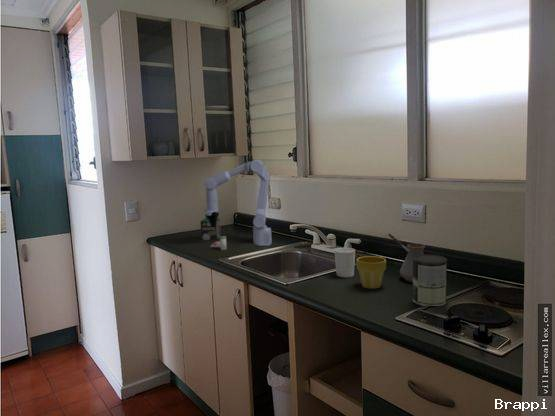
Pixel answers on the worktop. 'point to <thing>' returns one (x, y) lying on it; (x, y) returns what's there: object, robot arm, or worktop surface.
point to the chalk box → (210, 230)
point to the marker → (223, 242)
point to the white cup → (345, 262)
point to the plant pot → (371, 270)
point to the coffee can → (429, 280)
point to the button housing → (215, 245)
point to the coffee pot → (409, 258)
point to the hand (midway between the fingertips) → (213, 227)
